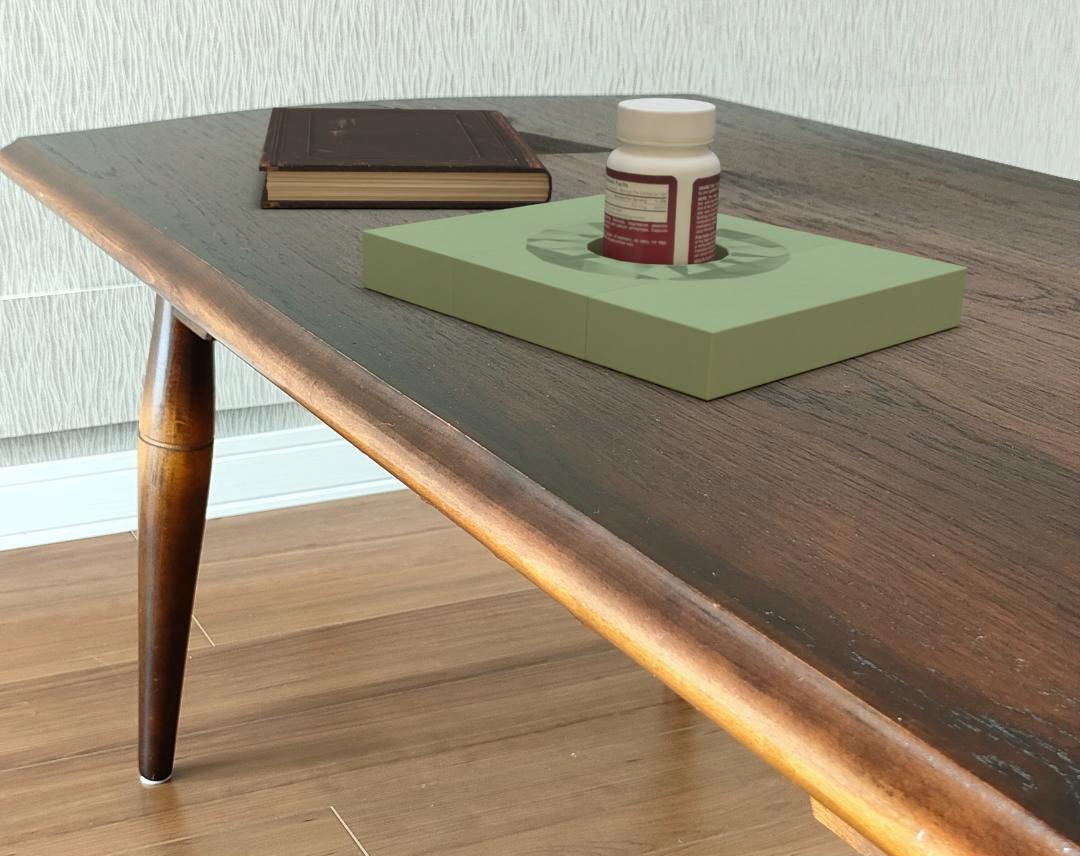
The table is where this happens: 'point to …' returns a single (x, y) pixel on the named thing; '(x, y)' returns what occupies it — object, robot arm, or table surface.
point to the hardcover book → (398, 160)
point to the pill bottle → (662, 183)
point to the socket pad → (667, 294)
